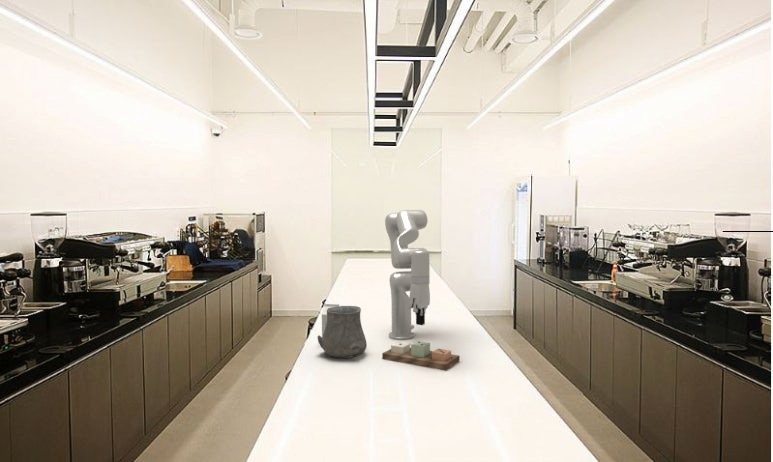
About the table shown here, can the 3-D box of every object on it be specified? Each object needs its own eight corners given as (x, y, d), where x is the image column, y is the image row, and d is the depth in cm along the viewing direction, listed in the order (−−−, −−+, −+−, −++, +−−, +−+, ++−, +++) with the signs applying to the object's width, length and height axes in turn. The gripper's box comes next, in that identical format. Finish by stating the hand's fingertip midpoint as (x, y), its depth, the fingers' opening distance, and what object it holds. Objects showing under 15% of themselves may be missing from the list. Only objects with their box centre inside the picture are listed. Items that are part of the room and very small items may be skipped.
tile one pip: (391, 356, 212) (391, 344, 212) (398, 352, 217) (398, 341, 217) (403, 358, 209) (403, 346, 209) (409, 354, 214) (409, 343, 214)
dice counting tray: (382, 359, 210) (382, 353, 210) (398, 351, 221) (398, 345, 221) (446, 370, 195) (446, 364, 195) (459, 361, 206) (459, 355, 206)
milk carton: (337, 347, 227) (336, 306, 225) (322, 347, 228) (321, 305, 227) (341, 343, 234) (341, 302, 232) (327, 342, 235) (326, 302, 234)
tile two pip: (411, 355, 207) (411, 343, 207) (417, 351, 212) (417, 340, 212) (423, 357, 204) (423, 345, 204) (430, 353, 209) (430, 342, 209)
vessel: (330, 366, 201) (330, 317, 200) (312, 352, 221) (311, 306, 219) (379, 358, 211) (379, 311, 210) (357, 345, 231) (357, 301, 229)
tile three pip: (431, 363, 202) (431, 351, 202) (438, 359, 207) (438, 348, 207) (445, 365, 199) (445, 353, 199) (451, 361, 204) (451, 350, 204)
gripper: (420, 277, 215) (420, 319, 216) (403, 281, 202) (403, 327, 203) (436, 278, 211) (436, 321, 212) (419, 283, 198) (420, 329, 199)
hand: (420, 324), depth 207 cm, fingers closed
